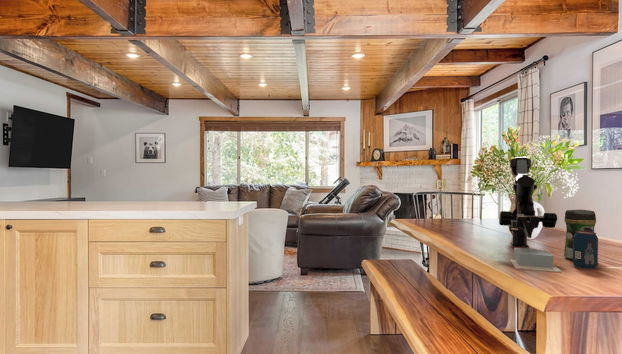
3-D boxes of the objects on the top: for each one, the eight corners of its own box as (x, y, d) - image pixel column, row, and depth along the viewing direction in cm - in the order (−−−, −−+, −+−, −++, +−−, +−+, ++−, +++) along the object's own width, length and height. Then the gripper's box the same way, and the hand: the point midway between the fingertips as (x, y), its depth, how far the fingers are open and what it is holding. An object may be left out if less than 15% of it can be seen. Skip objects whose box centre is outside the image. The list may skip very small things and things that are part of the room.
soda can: (582, 264, 139) (583, 230, 139) (602, 269, 132) (603, 233, 132) (567, 265, 137) (568, 231, 137) (587, 270, 130) (588, 233, 130)
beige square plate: (510, 260, 144) (510, 259, 144) (551, 263, 140) (551, 262, 140) (516, 268, 131) (516, 267, 131) (561, 272, 127) (561, 271, 127)
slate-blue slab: (514, 247, 146) (519, 253, 134) (545, 249, 142) (553, 255, 131) (513, 258, 146) (519, 265, 134) (544, 260, 142) (553, 268, 131)
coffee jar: (586, 257, 151) (586, 208, 151) (600, 262, 144) (601, 210, 143) (559, 257, 152) (560, 208, 152) (572, 261, 144) (573, 210, 144)
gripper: (548, 219, 156) (555, 252, 146) (496, 216, 162) (499, 248, 152) (554, 200, 149) (561, 233, 138) (499, 198, 155) (502, 230, 145)
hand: (529, 237), depth 144 cm, fingers closed
